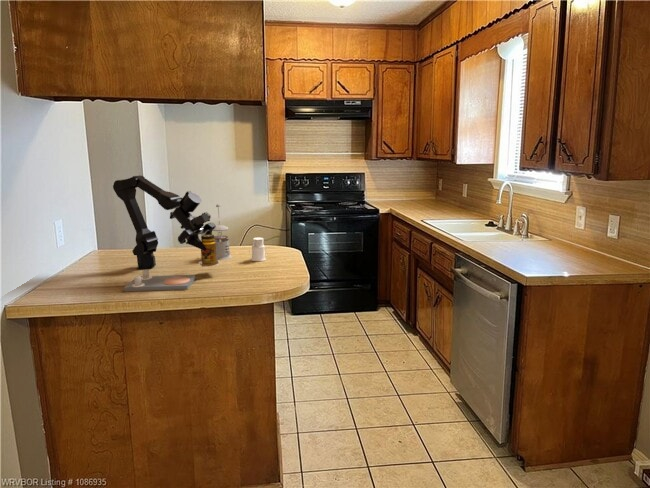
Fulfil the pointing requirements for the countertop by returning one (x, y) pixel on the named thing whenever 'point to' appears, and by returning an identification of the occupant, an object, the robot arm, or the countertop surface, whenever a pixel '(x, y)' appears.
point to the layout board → (160, 282)
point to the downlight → (258, 250)
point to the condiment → (209, 251)
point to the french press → (222, 242)
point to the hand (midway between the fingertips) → (210, 248)
